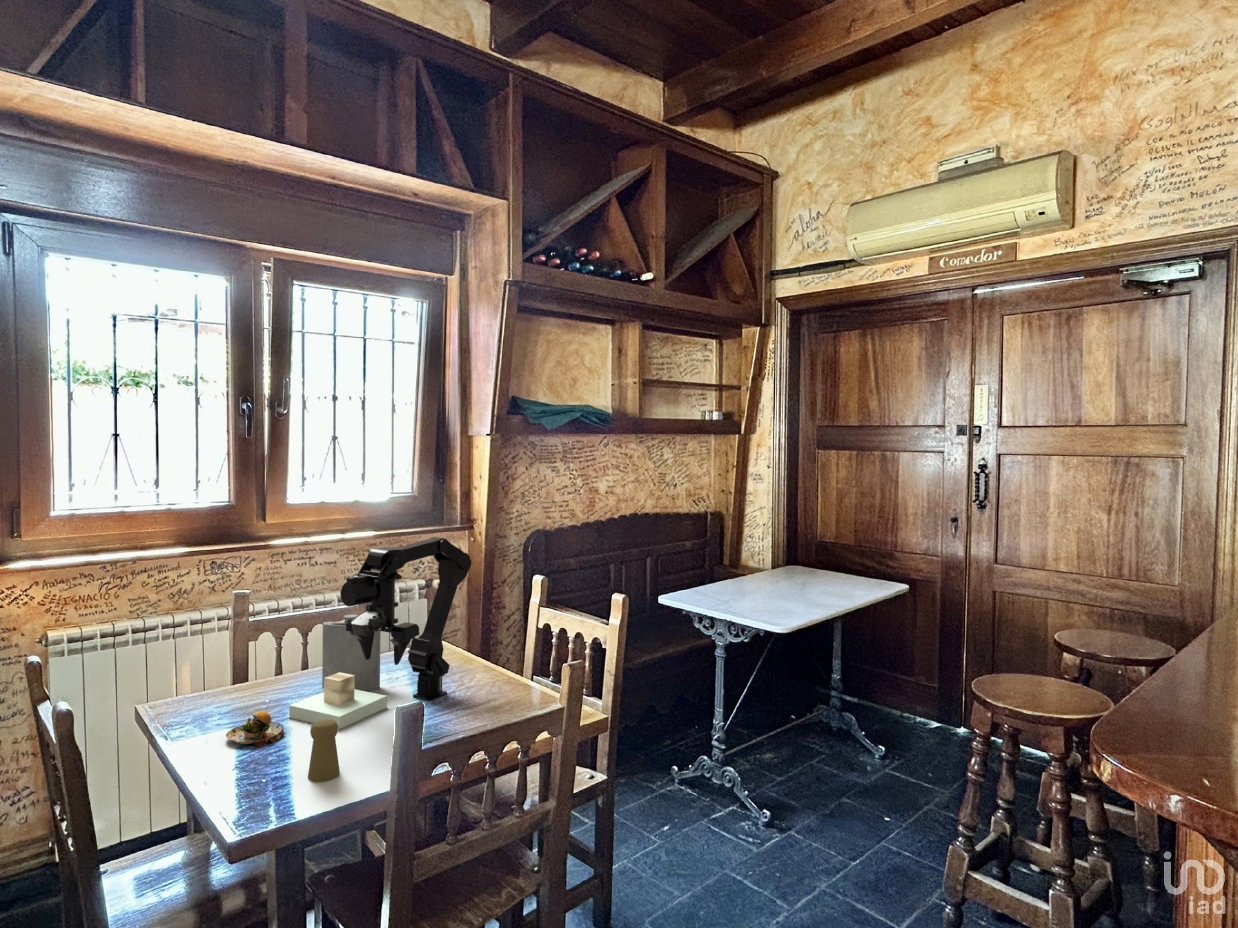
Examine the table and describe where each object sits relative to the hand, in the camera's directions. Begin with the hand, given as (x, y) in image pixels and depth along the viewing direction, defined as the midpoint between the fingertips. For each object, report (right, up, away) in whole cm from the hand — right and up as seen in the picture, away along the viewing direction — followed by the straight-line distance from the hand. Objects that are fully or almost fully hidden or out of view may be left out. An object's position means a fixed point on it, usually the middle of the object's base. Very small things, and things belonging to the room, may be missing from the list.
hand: (382, 661), depth 182 cm
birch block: (-11, -10, +1) cm, 15 cm away
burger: (-24, -14, -15) cm, 31 cm away
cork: (-1, -14, -33) cm, 36 cm away
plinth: (-11, -13, +1) cm, 17 cm away
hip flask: (-15, -12, +19) cm, 27 cm away
